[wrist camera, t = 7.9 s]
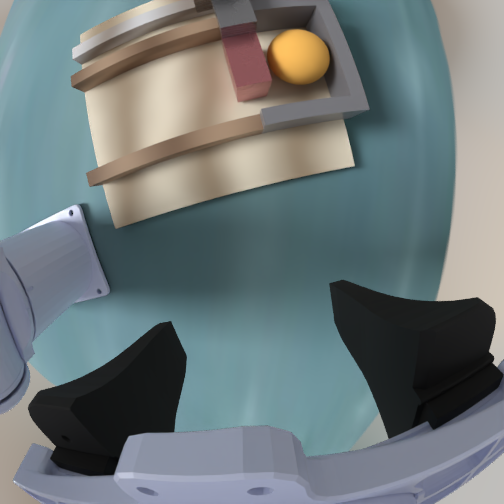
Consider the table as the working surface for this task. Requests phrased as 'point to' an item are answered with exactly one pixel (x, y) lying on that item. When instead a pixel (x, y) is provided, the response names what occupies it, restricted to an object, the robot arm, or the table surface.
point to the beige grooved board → (187, 115)
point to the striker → (240, 46)
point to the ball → (298, 57)
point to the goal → (337, 75)
